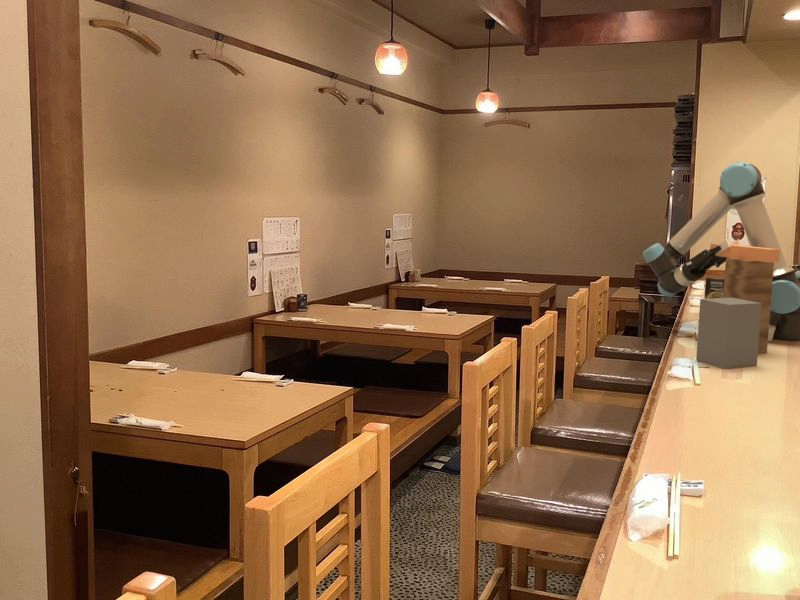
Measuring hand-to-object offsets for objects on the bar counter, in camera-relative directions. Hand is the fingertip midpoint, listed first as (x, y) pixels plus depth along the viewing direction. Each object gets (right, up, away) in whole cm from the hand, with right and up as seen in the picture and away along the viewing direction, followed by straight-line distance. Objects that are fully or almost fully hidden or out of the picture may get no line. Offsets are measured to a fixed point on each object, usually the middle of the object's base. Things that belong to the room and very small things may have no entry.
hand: (734, 243), depth 254 cm
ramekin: (+16, -33, +18) cm, 41 cm away
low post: (-11, -38, -20) cm, 44 cm away
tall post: (+2, -35, -2) cm, 35 cm away
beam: (+1, -5, -3) cm, 6 cm away
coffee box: (+21, -26, +67) cm, 75 cm away
